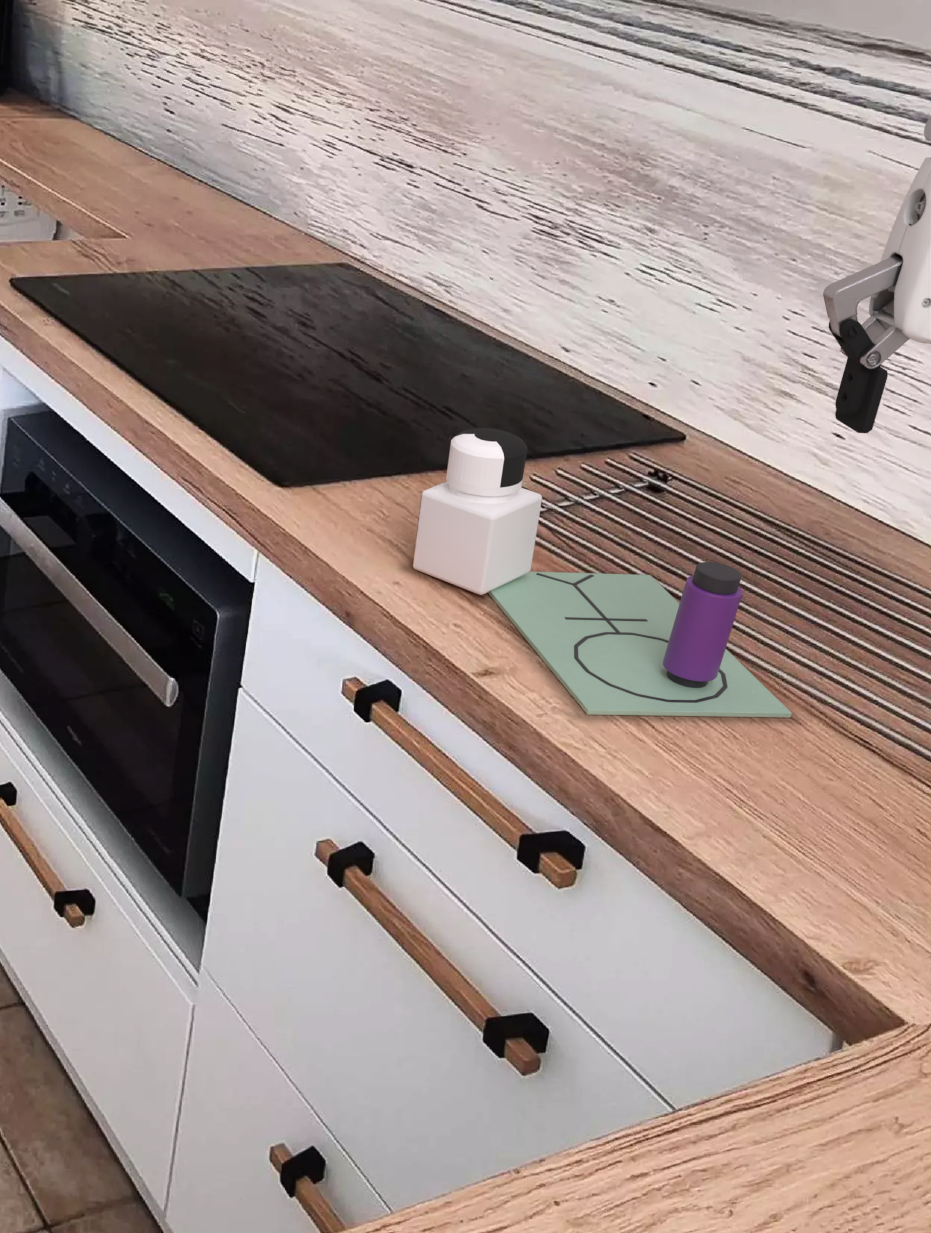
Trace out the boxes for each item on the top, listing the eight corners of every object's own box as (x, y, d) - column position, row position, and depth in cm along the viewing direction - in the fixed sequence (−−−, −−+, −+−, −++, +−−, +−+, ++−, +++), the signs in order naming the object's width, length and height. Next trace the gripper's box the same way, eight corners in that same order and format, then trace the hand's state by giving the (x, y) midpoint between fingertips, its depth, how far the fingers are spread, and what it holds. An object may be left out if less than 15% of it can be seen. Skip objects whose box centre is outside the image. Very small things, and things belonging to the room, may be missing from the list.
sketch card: (790, 717, 130) (792, 712, 129) (587, 714, 127) (588, 709, 127) (649, 578, 150) (650, 574, 150) (471, 574, 148) (472, 569, 148)
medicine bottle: (461, 546, 152) (479, 414, 146) (531, 573, 147) (553, 438, 142) (410, 569, 148) (427, 434, 142) (481, 597, 143) (501, 459, 137)
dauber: (715, 674, 134) (748, 567, 130) (712, 696, 131) (746, 586, 126) (661, 661, 135) (692, 554, 131) (657, 682, 132) (689, 573, 128)
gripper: (907, 147, 96) (824, 445, 104) (1196, 161, 98) (1093, 452, 106) (837, 123, 103) (764, 405, 110) (1108, 137, 105) (1018, 412, 112)
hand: (925, 428), depth 108 cm, fingers open, 9 cm apart
